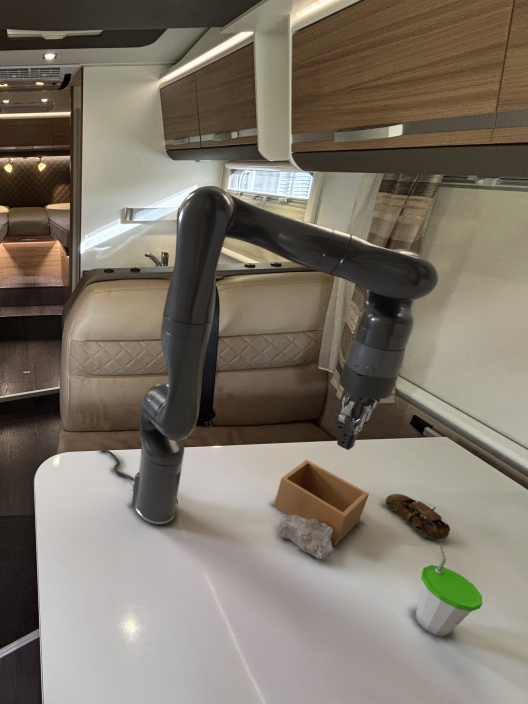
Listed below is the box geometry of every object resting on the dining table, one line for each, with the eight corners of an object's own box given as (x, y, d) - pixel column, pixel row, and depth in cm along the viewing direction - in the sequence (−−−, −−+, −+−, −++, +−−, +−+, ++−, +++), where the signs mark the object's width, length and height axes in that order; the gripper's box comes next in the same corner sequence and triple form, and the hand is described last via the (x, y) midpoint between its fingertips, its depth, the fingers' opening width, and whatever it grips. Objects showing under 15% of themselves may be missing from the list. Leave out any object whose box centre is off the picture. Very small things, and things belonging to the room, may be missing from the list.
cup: (465, 656, 73) (501, 597, 67) (407, 631, 77) (436, 573, 71) (454, 616, 79) (486, 559, 74) (400, 595, 83) (427, 539, 77)
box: (334, 545, 93) (345, 516, 90) (273, 505, 104) (281, 477, 101) (358, 522, 99) (369, 493, 96) (298, 486, 110) (306, 459, 107)
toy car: (454, 539, 95) (462, 523, 93) (428, 544, 94) (436, 528, 92) (401, 498, 106) (408, 483, 104) (378, 502, 105) (384, 487, 103)
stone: (331, 567, 89) (338, 547, 86) (277, 549, 93) (282, 529, 91) (327, 538, 95) (333, 518, 93) (277, 522, 99) (282, 503, 97)
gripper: (363, 348, 80) (339, 424, 87) (329, 367, 73) (305, 448, 80) (413, 364, 74) (382, 444, 81) (380, 385, 68) (350, 471, 74)
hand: (344, 446), depth 80 cm, fingers closed
